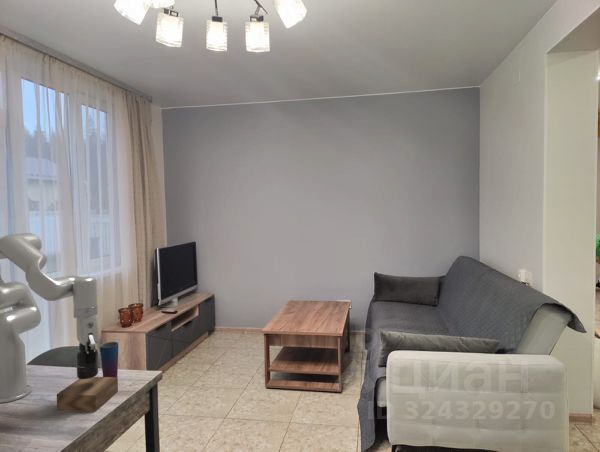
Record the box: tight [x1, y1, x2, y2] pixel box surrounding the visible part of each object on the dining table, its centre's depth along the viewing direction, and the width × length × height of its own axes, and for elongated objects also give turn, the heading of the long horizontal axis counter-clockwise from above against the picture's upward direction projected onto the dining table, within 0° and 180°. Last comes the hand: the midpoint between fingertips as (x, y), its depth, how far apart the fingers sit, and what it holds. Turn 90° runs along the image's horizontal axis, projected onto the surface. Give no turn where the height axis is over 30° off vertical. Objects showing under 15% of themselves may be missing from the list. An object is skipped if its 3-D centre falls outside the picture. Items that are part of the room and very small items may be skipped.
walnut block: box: [56, 376, 119, 412], centre depth 139 cm, size 14×14×6 cm
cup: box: [99, 341, 119, 377], centre depth 155 cm, size 7×7×15 cm
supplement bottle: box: [76, 342, 99, 379], centre depth 139 cm, size 7×7×12 cm
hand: (87, 360), depth 139 cm, fingers closed on supplement bottle, 6 cm apart
